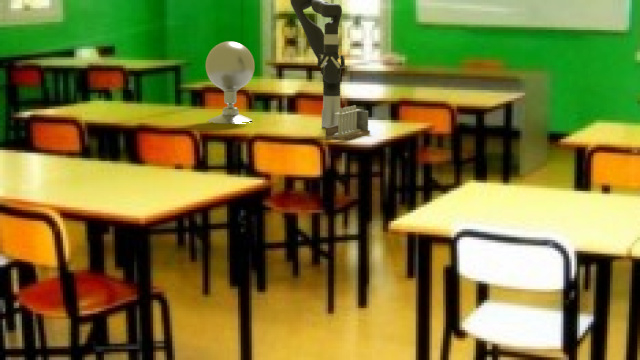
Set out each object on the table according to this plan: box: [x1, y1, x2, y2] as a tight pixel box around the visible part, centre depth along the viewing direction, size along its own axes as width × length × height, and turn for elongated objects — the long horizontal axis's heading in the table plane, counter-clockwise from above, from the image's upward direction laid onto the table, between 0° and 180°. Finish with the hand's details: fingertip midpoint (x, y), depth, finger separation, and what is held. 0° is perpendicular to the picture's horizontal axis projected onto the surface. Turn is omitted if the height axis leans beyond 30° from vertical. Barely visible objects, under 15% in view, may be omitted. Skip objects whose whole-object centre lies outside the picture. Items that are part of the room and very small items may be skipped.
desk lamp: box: [205, 41, 256, 124], centre depth 574 cm, size 28×28×45 cm
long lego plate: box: [334, 105, 362, 136], centre depth 511 cm, size 25×4×13 cm, turn 156°
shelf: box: [325, 110, 371, 141], centre depth 512 cm, size 12×31×12 cm, turn 157°
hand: (331, 75), depth 517 cm, fingers open, 8 cm apart
